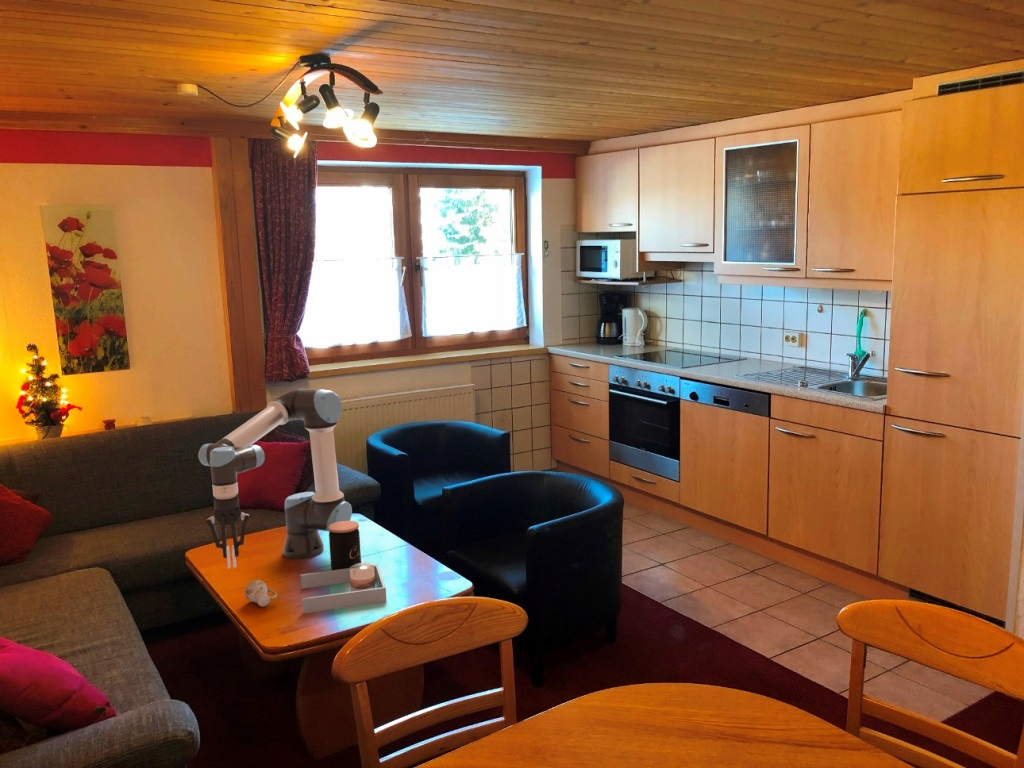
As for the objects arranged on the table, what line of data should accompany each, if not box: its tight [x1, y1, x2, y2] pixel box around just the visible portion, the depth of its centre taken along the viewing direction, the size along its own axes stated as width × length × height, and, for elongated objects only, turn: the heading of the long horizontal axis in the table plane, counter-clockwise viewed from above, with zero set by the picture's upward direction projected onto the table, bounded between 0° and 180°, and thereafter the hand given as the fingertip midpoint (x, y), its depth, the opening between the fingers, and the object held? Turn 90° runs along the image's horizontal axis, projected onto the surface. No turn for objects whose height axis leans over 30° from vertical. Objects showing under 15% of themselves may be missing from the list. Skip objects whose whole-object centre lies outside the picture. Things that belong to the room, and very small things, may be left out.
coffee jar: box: [328, 520, 362, 571], centre depth 291 cm, size 11×11×18 cm
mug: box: [244, 579, 278, 607], centre depth 268 cm, size 8×10×10 cm
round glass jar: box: [349, 562, 376, 592], centre depth 275 cm, size 8×8×9 cm
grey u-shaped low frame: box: [299, 564, 387, 615], centre depth 273 cm, size 22×26×5 cm
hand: (232, 566), depth 263 cm, fingers closed
